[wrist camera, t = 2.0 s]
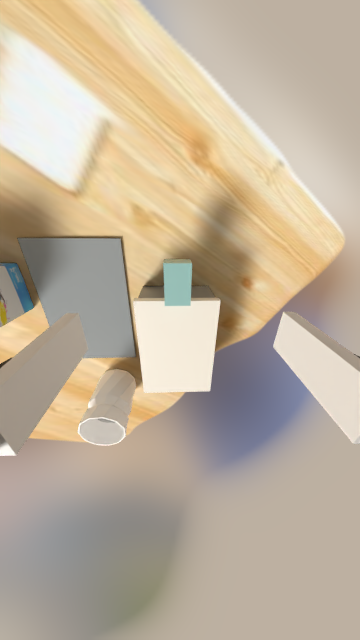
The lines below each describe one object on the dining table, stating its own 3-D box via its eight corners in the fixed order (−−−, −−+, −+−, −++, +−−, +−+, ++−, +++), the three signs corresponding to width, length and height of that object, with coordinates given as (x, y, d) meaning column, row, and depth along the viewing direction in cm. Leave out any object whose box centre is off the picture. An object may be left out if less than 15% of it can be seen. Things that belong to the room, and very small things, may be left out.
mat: (19, 237, 29) (17, 237, 29) (120, 238, 30) (120, 238, 30) (62, 357, 40) (61, 358, 40) (135, 355, 41) (135, 357, 41)
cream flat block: (131, 257, 26) (125, 263, 22) (221, 258, 26) (229, 263, 23) (145, 383, 37) (142, 400, 33) (207, 382, 37) (211, 398, 34)
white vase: (92, 375, 43) (66, 424, 32) (126, 364, 42) (110, 411, 31) (111, 398, 47) (94, 449, 36) (142, 389, 46) (134, 439, 35)
